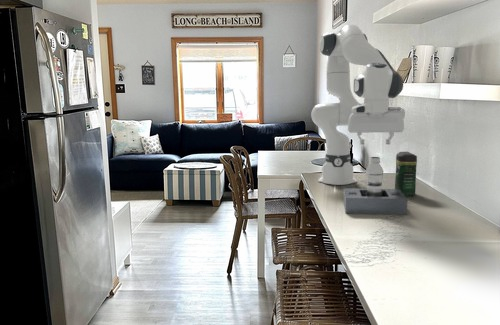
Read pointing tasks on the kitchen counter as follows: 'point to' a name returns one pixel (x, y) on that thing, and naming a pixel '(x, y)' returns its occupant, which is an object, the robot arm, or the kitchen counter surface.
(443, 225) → the kitchen counter surface
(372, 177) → the silver bottle
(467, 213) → the kitchen counter surface
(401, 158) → the coffee jar
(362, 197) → the grey slotted block
